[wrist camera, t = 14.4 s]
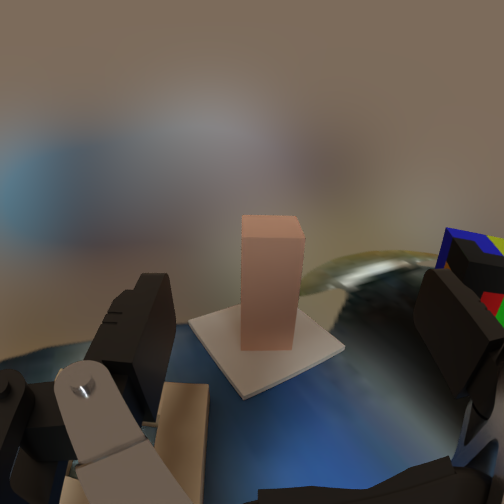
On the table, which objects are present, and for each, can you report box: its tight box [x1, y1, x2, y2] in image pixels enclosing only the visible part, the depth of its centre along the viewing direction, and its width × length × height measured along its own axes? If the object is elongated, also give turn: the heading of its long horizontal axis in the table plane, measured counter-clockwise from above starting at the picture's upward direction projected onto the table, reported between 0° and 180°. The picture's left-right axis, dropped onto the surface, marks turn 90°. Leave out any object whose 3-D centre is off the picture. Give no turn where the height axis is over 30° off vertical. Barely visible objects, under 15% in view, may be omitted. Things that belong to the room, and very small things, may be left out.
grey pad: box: [188, 304, 345, 400], centre depth 33 cm, size 12×12×1 cm
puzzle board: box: [54, 368, 210, 504], centre depth 19 cm, size 14×14×2 cm
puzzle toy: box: [435, 228, 504, 327], centre depth 34 cm, size 10×10×10 cm
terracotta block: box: [241, 215, 306, 351], centre depth 30 cm, size 5×5×12 cm
